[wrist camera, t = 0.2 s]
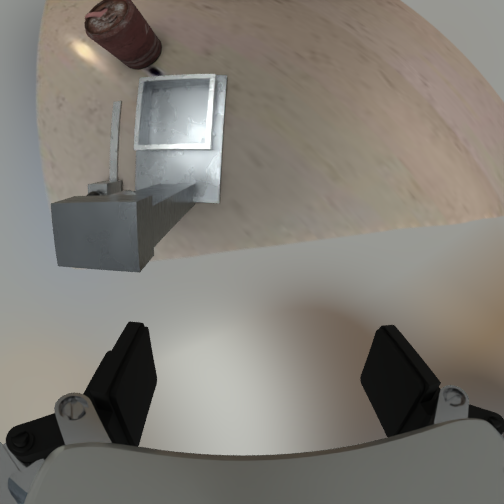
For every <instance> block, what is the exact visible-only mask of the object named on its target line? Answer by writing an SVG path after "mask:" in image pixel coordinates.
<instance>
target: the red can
mask: <svg viewBox="0 0 504 504" xmlns="http://www.w3.org/2000/svg"><path fill="white" fill-rule="evenodd" d="M85 29H86V33H87V35H88V37H90V38H91V39H92V40H94V41H95V42H97V43H98V44H99V45H101V46H102V47H103V48H105V49H106V50H107V51H109V52H110V53H111V54H112V55H114V56H115V57H116V58H118V59H119V60H120V61H122V62H123V63H124V64H125V65H127V66H128V67H130V68H133V69H140V68H144V67H147V66H148V65H150V64H151V63H153V62H154V61H155V60H156V59H157V58H158V56H159V54H160V52H161V42H160V40H159V39H158V37H157V36H156V35H155V33H154V32H153V30H152V29H151V27H150V26H149V25H148V23H147V22H146V20H145V19H144V18H143V16H142V15H141V13H140V12H139V11H138V9H137V8H136V6H135V5H134V4H133V2H132V1H131V0H103V1H101V2H100V3H98V4H97V5H96V6H95V7H94V8H93V9H92V10H91V11H90V12H89V13H88V14H87V15H86V16H85Z"/></svg>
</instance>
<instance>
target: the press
mask: <svg viewBox="0 0 504 504" xmlns="http://www.w3.org/2000/svg"><path fill="white" fill-rule="evenodd" d="M226 87H227V75H216V74H184V75H166V76H153V77H143V78H140V81H139V89H138V98H137V108H136V120H135V135H134V150H136V187H135V189H136V191H134V192H133V191H130V190H125V191H121V192H118V193H115V194H112V195H99V196H74V197H71V198H68V199H64V200H61V201H58V202H55V203H51V212H52V224H53V233H54V241H55V249H56V256H57V263H58V266H63V267H75V268H87V269H101V270H113V271H128V272H141V270H142V269H143V268H144V267H145V266H146V264H147V263H148V262H149V261H150V259H151V258H152V257H153V256H154V247H155V246H156V244H157V243H158V242H159V241H160V240H161V239H162V238H163V237H164V236H165V235H166V234H167V233H168V232H169V231H170V229H171V228H172V227H173V226H174V225H175V224H176V223H177V222H178V221H179V220H180V219H181V218H182V217H183V216H184V215H185V214H186V213H187V212H188V211H189V210H190V209H191V208H192V207H193V206H194V205H195V202H205V203H219V202H220V181H221V161H222V144H223V128H224V113H225V100H226ZM121 104H122V101H118V102H114V103H113V113H112V126H111V143H110V181H118V145H119V128H120V115H121Z"/></svg>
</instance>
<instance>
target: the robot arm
mask: <svg viewBox="0 0 504 504" xmlns="http://www.w3.org/2000/svg"><path fill="white" fill-rule="evenodd" d="M440 383H441V382H440V381H439V380H438V378H437V377H436V376H435V375H434V373H433V372H432V371H431V369H430V368H429V367H428V366H427V364H426V363H425V362H424V361H423V359H422V358H421V357H420V356H419V354H418V353H417V352H416V351H415V349H414V348H413V347H412V346H411V345H410V343H409V342H408V341H407V340H406V339H405V337H404V336H403V335H402V334H401V333H400V332H399V330H398V329H397V328H396V327H395V326H394V325H386V326H381V327H380V328H379V329H378V330H377V331H376V333H375V336H374V339H373V343H372V346H371V349H370V352H369V355H368V357H367V360H366V363H365V366H364V369H363V371H362V374H361V384H362V386H363V388H364V390H365V392H366V394H367V396H368V398H369V400H370V402H371V404H372V406H373V408H374V410H375V412H376V414H377V417H378V419H379V420H380V423H381V425H382V427H383V429H384V431H385V433H386V435H387V437H388V438H384V439H380V440H375V441H371V442H367V443H362V444H357V445H352V446H346V447H340V448H334V449H328V450H320V451H312V452H303V453H292V454H278V455H252V456H251V455H248V456H247V455H246V456H240V455H239V456H237V455H209V454H194V453H184V452H174V451H165V450H157V449H151V448H144V447H138V446H139V442H140V439H141V436H142V432H143V428H144V425H145V421H146V418H147V414H148V411H149V407H150V404H151V401H152V397H153V393H154V390H155V387H156V384H157V375H156V370H155V365H154V360H153V354H152V348H151V342H150V336H149V329H148V327H144V324H143V323H139V322H128V324H127V325H126V327H125V329H124V330H123V332H122V334H121V335H120V337H119V339H118V341H117V342H116V344H115V346H114V347H113V349H112V351H108V352H107V353H106V354H105V356H104V358H103V360H102V361H101V363H100V365H99V367H98V368H97V370H96V372H95V374H94V375H93V377H92V380H91V381H90V383H89V385H88V387H87V388H86V390H85V392H84V394H80V393H69V394H66V395H64V396H62V397H61V398H60V399H58V401H57V402H56V404H55V408H54V409H55V413H54V414H51V415H48V416H45V417H42V418H39V419H36V420H33V421H30V422H27V423H24V424H20V425H17V426H15V427H13V428H12V429H11V430H10V431H9V432H8V434H7V437H6V443H5V444H4V445H3V444H2V443H1V442H0V504H504V419H503V418H502V417H501V416H500V415H499V414H497V413H495V412H491V411H488V410H485V409H481V408H479V407H476V406H472V405H469V398H468V396H467V394H466V392H465V391H463V390H462V389H461V388H459V387H457V386H452V385H450V386H445V387H443V388H442V389H440V388H439V385H440Z"/></svg>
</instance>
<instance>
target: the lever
mask: <svg viewBox="0 0 504 504" xmlns="http://www.w3.org/2000/svg"><path fill="white" fill-rule="evenodd" d="M118 192H121V181H102V182H97V183H93V184H88V195H87V196H99V195H112V194H115V193H118Z"/></svg>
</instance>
